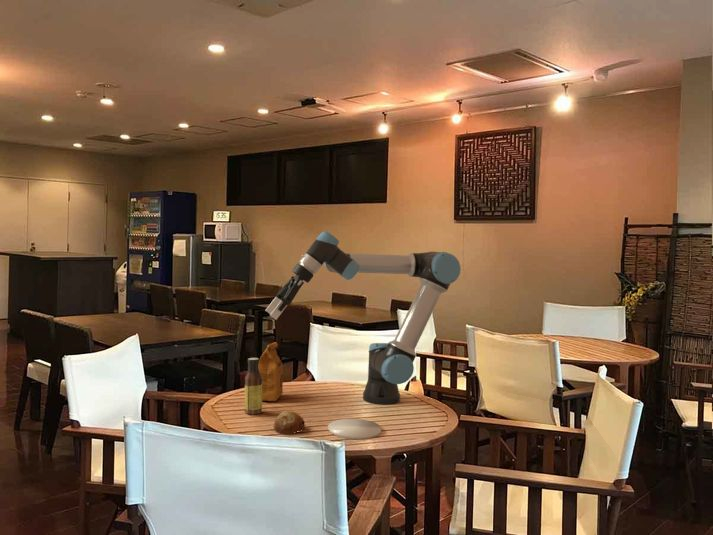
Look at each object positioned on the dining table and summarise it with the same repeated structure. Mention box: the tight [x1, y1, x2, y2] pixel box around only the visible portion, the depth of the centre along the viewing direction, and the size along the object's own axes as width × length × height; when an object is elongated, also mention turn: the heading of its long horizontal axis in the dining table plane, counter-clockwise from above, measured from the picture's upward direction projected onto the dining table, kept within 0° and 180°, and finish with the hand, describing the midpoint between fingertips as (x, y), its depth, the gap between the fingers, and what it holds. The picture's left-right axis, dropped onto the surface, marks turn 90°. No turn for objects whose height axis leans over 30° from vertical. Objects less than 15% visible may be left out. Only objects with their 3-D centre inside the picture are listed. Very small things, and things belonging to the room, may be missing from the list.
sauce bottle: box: [244, 357, 263, 415], centre depth 218 cm, size 7×6×20 cm
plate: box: [327, 418, 382, 440], centre depth 203 cm, size 18×18×1 cm
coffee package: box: [258, 341, 284, 402], centre depth 237 cm, size 10×12×22 cm
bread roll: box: [273, 410, 306, 435], centre depth 201 cm, size 10×10×8 cm
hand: (270, 315), depth 216 cm, fingers open, 13 cm apart
